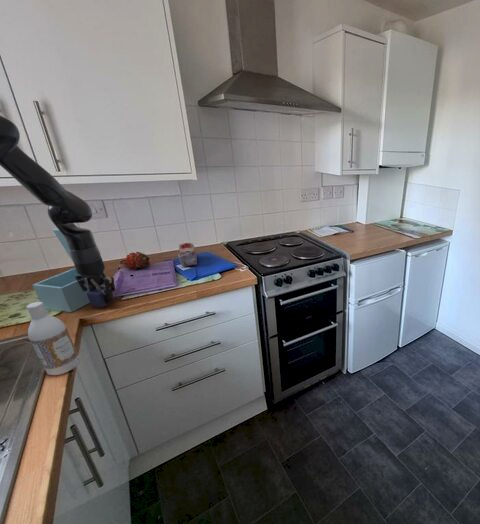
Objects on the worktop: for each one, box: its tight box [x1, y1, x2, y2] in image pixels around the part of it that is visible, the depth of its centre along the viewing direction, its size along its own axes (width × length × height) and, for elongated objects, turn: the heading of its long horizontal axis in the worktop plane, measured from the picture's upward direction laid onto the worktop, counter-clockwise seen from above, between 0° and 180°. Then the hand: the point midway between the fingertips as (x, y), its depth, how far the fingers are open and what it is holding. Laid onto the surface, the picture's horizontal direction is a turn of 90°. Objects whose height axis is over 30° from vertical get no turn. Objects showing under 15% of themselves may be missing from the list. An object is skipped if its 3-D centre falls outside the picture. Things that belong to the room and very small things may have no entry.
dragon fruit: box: [119, 251, 150, 271], centre depth 141 cm, size 8×8×12 cm
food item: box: [177, 242, 198, 267], centre depth 146 cm, size 14×8×10 cm, turn 31°
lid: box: [52, 228, 74, 264], centre depth 115 cm, size 16×13×5 cm
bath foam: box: [26, 301, 81, 376], centre depth 78 cm, size 7×7×20 cm
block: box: [87, 288, 116, 308], centre depth 109 cm, size 5×5×5 cm
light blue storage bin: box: [32, 267, 106, 313], centre depth 113 cm, size 16×13×10 cm
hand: (102, 301), depth 110 cm, fingers closed on block, 5 cm apart
